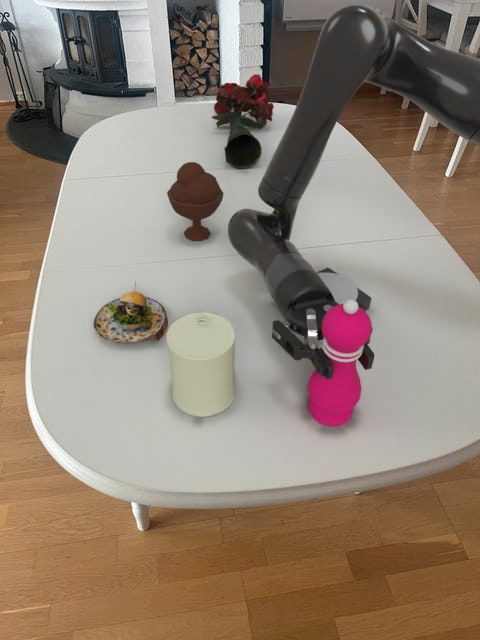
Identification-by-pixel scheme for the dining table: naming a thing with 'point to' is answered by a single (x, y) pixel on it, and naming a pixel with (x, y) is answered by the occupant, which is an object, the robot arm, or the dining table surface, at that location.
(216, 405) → the can
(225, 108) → the red flower bouquet
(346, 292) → the kitchen scale
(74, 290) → the dining table surface
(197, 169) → the ice cream bowl
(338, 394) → the pepper mill
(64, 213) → the dining table surface
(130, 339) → the burger
